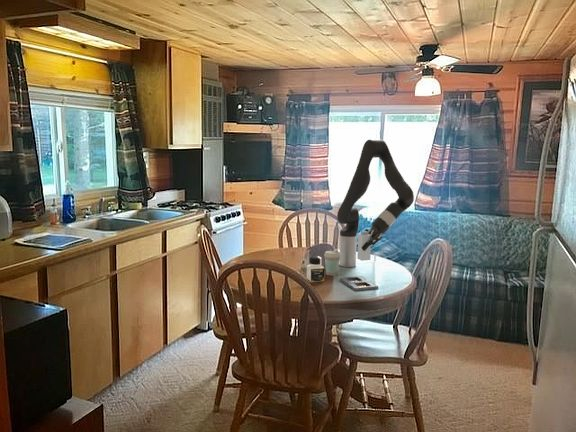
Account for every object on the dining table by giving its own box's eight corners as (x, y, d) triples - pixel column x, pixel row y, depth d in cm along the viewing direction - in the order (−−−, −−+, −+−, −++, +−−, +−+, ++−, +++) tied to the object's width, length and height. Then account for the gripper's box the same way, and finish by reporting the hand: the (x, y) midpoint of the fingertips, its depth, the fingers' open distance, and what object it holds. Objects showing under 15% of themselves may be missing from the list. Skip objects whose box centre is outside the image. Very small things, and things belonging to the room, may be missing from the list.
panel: (339, 280, 240) (339, 277, 240) (361, 278, 244) (361, 276, 244) (355, 291, 224) (355, 288, 223) (378, 289, 227) (378, 286, 227)
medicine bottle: (310, 282, 237) (311, 258, 236) (306, 278, 244) (306, 255, 242) (324, 281, 239) (324, 258, 238) (319, 277, 246) (320, 254, 244)
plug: (357, 258, 229) (358, 231, 227) (365, 257, 230) (366, 230, 228) (361, 260, 225) (362, 232, 223) (370, 259, 226) (371, 232, 224)
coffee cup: (339, 277, 247) (339, 254, 245) (322, 276, 249) (323, 253, 247) (340, 272, 255) (341, 250, 254) (324, 271, 257) (325, 250, 255)
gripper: (371, 214, 234) (348, 240, 232) (386, 218, 220) (362, 246, 218) (381, 224, 236) (358, 250, 234) (396, 229, 223) (372, 256, 221)
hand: (360, 248), depth 226 cm, fingers closed on plug, 4 cm apart
